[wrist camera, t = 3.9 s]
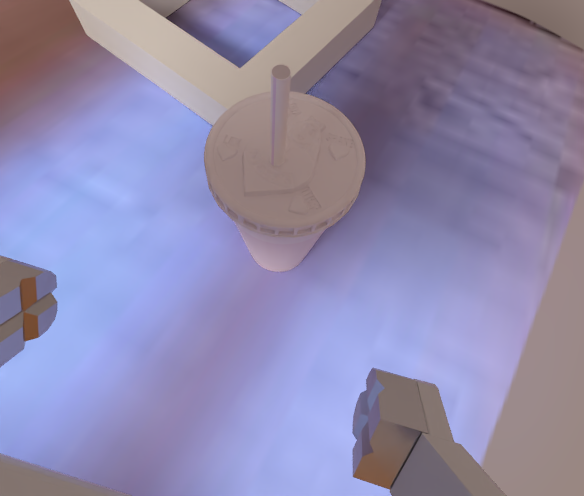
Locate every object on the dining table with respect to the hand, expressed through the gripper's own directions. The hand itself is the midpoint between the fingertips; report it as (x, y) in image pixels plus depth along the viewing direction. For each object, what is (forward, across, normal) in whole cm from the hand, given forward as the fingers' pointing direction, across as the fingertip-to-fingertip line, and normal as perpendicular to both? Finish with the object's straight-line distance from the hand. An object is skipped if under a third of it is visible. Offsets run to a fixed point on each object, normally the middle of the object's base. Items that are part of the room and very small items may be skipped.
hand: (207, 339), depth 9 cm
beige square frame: (+26, +8, -8) cm, 28 cm away
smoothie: (+14, 0, +3) cm, 15 cm away
